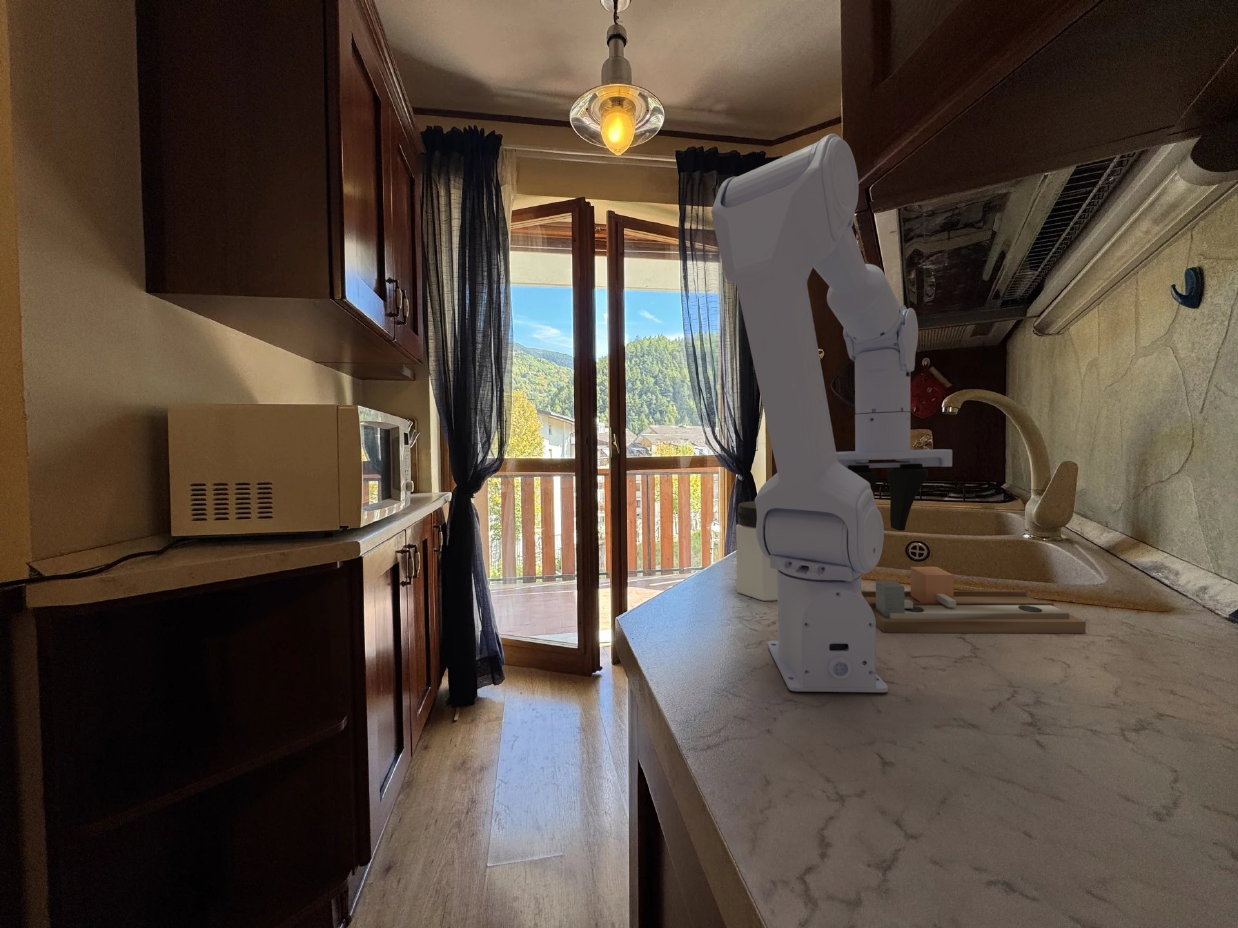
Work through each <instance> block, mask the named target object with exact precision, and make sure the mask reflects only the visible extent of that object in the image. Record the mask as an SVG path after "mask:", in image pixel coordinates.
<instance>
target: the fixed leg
mask: <svg viewBox="0 0 1238 928" xmlns="http://www.w3.org/2000/svg"><path fill="white" fill-rule="evenodd" d="M875 591H876V611H877V612H878V613H879V614H880V615H881V616H883V617H884V618H885V619H890V613H904V608H913V602H912V601H911V600H904V591H905V586H904V585H903V584H901V583H899V582H898V581H896V580H893V579H892V580H889V579H888V580H887V579H886V580H884V579H883V580H882V579H881V580H877V579H876V580H875Z"/></svg>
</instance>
